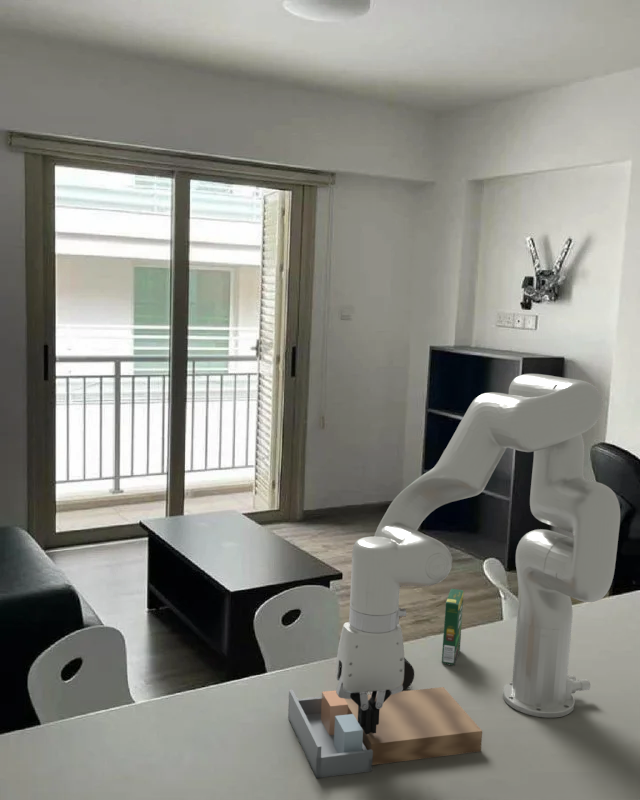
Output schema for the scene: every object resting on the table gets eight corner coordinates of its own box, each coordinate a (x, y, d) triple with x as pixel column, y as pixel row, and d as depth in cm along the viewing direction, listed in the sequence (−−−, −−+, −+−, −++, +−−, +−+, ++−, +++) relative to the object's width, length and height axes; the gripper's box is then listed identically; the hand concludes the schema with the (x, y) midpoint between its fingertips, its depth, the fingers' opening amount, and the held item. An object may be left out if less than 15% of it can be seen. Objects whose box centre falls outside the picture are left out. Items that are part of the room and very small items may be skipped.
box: (337, 712, 142) (338, 685, 142) (371, 771, 125) (373, 740, 124) (288, 717, 140) (289, 689, 139) (316, 778, 123) (317, 746, 122)
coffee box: (455, 667, 162) (459, 603, 160) (440, 664, 162) (444, 601, 161) (460, 650, 169) (464, 589, 168) (446, 648, 170) (450, 587, 168)
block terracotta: (339, 690, 139) (322, 691, 138) (347, 704, 134) (330, 706, 133) (337, 717, 139) (320, 719, 139) (346, 733, 135) (329, 735, 134)
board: (442, 705, 146) (443, 687, 146) (480, 751, 132) (482, 730, 131) (341, 716, 141) (342, 697, 140) (370, 765, 127) (371, 744, 126)
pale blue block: (353, 713, 131) (335, 715, 130) (363, 730, 126) (344, 732, 125) (351, 743, 132) (333, 745, 131) (361, 760, 127) (343, 762, 126)
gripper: (409, 605, 132) (403, 712, 135) (320, 611, 128) (315, 722, 130) (427, 623, 125) (421, 736, 127) (334, 631, 121) (329, 747, 123)
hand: (367, 729), depth 129 cm, fingers closed
